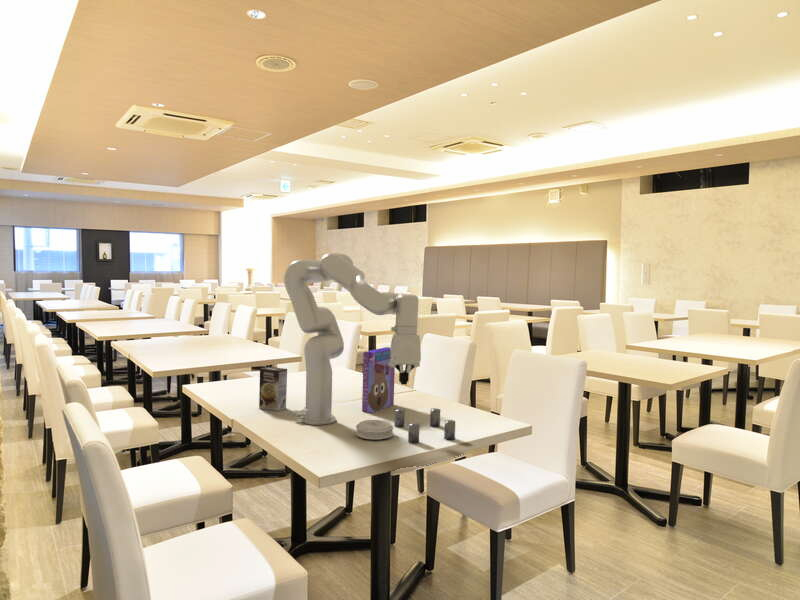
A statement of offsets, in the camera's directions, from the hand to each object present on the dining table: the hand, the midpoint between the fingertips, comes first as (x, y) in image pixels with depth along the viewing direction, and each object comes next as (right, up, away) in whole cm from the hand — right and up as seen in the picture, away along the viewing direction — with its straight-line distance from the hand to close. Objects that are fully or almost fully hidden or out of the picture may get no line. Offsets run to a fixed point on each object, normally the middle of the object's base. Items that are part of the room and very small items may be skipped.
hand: (403, 383), depth 190 cm
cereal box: (-10, -16, +36) cm, 41 cm away
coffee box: (-52, -15, +31) cm, 62 cm away
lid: (-10, -18, -2) cm, 20 cm away
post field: (+7, -18, +3) cm, 19 cm away
